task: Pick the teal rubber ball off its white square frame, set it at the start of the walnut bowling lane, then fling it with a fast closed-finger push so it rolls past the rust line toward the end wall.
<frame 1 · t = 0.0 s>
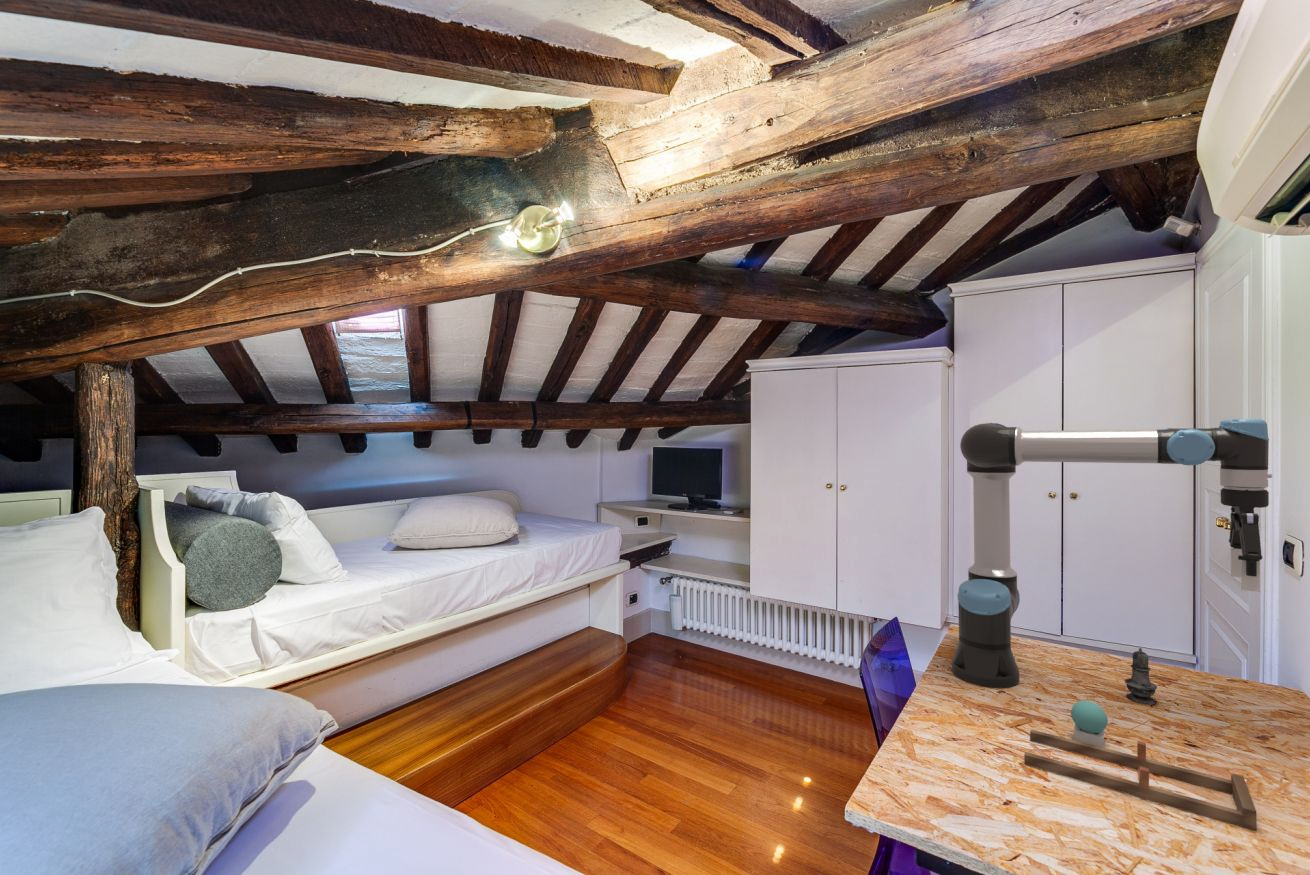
hand: (1244, 583, 129), 28 cm above the table, fingers open, 13 cm apart
dark grey chess piece: (1140, 699, 135), on the table
white square frame: (1089, 739, 119), on the table
lane: (1128, 778, 106), on the table
ball: (1089, 716, 119), point 5 cm above the table, touching white square frame
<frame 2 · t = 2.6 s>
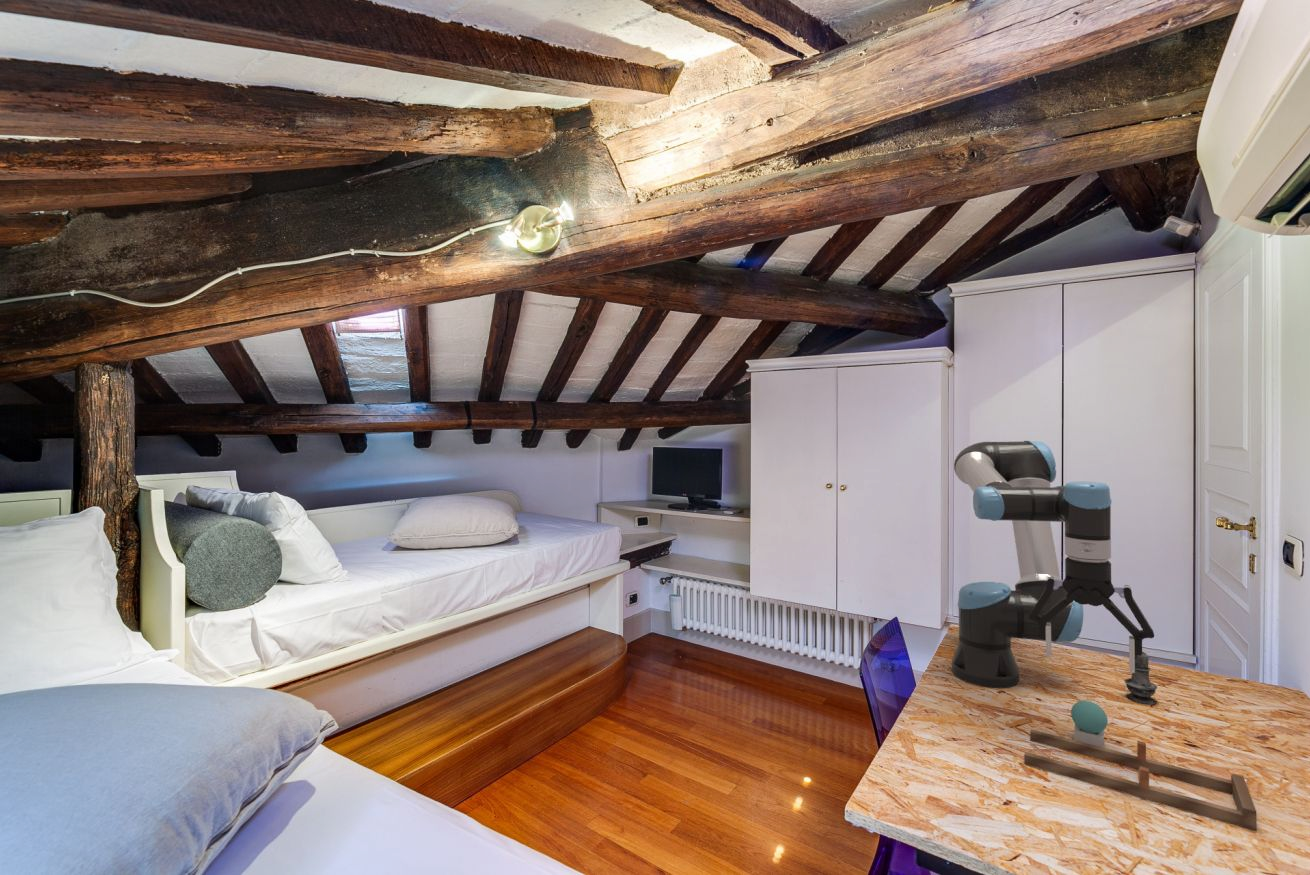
hand: (1088, 662, 118), 16 cm above the table, fingers open, 13 cm apart
nothing on the table moved.
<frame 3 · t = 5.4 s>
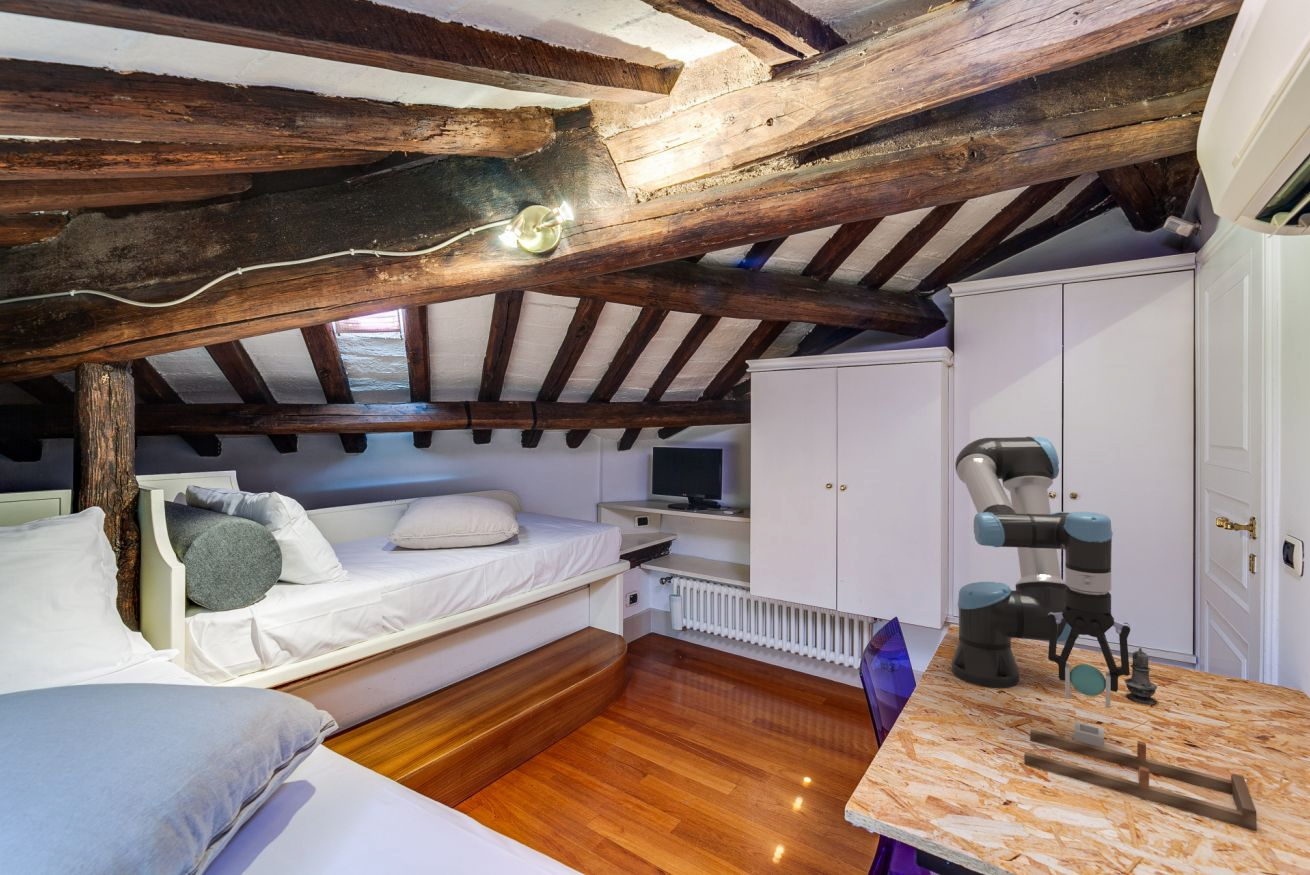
hand: (1087, 700, 119), 8 cm above the table, fingers closed on ball, 6 cm apart
ball: (1087, 679, 119), point 12 cm above the table, touching gripper
everything else where it was.
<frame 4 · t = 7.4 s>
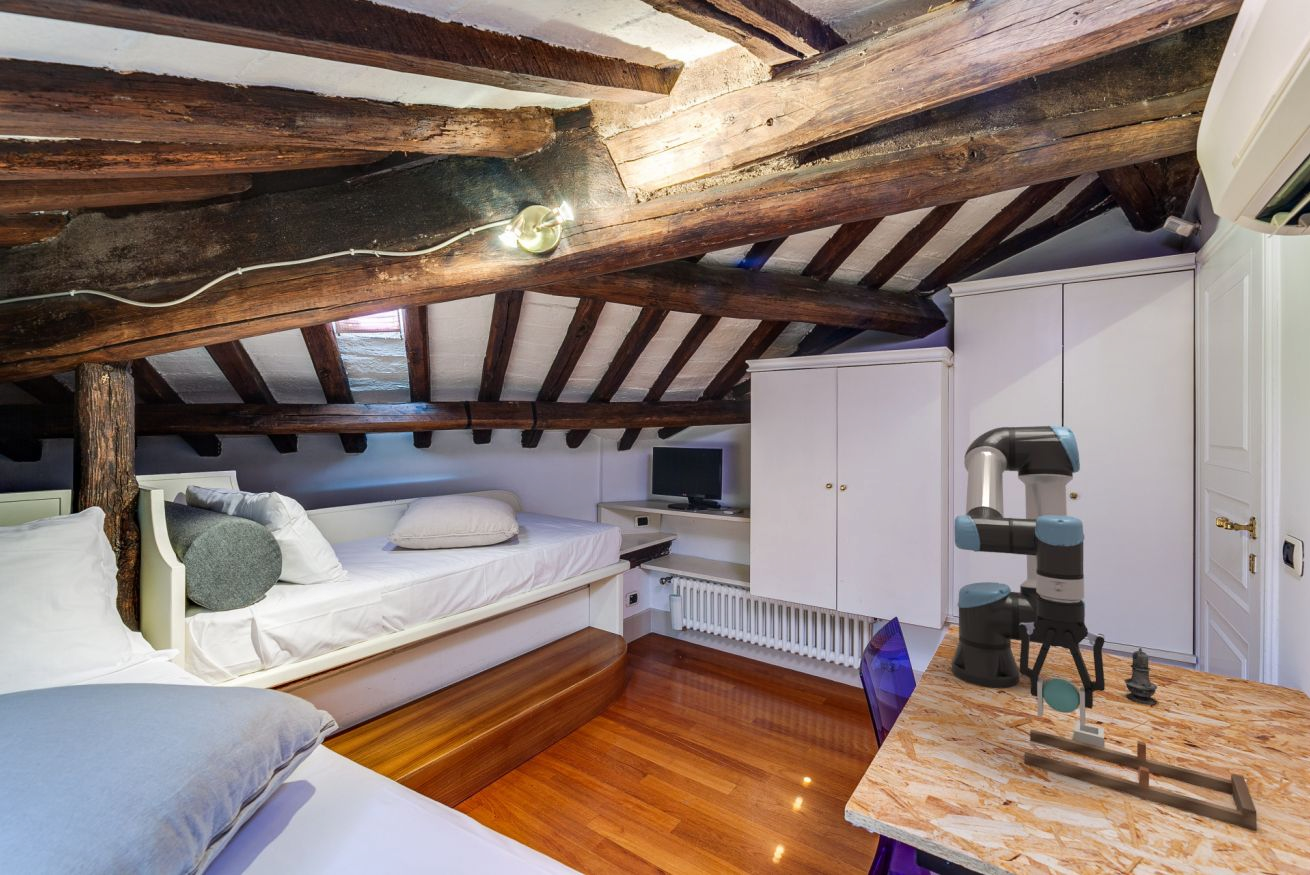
hand: (1061, 718, 111), 8 cm above the table, fingers closed on ball, 6 cm apart
ball: (1061, 695, 111), point 13 cm above the table, touching gripper
everything else where it was.
when the fingers open (0 cm above the table, at t = 9.5 s): ball drops 2 cm, point 3 cm above the table.
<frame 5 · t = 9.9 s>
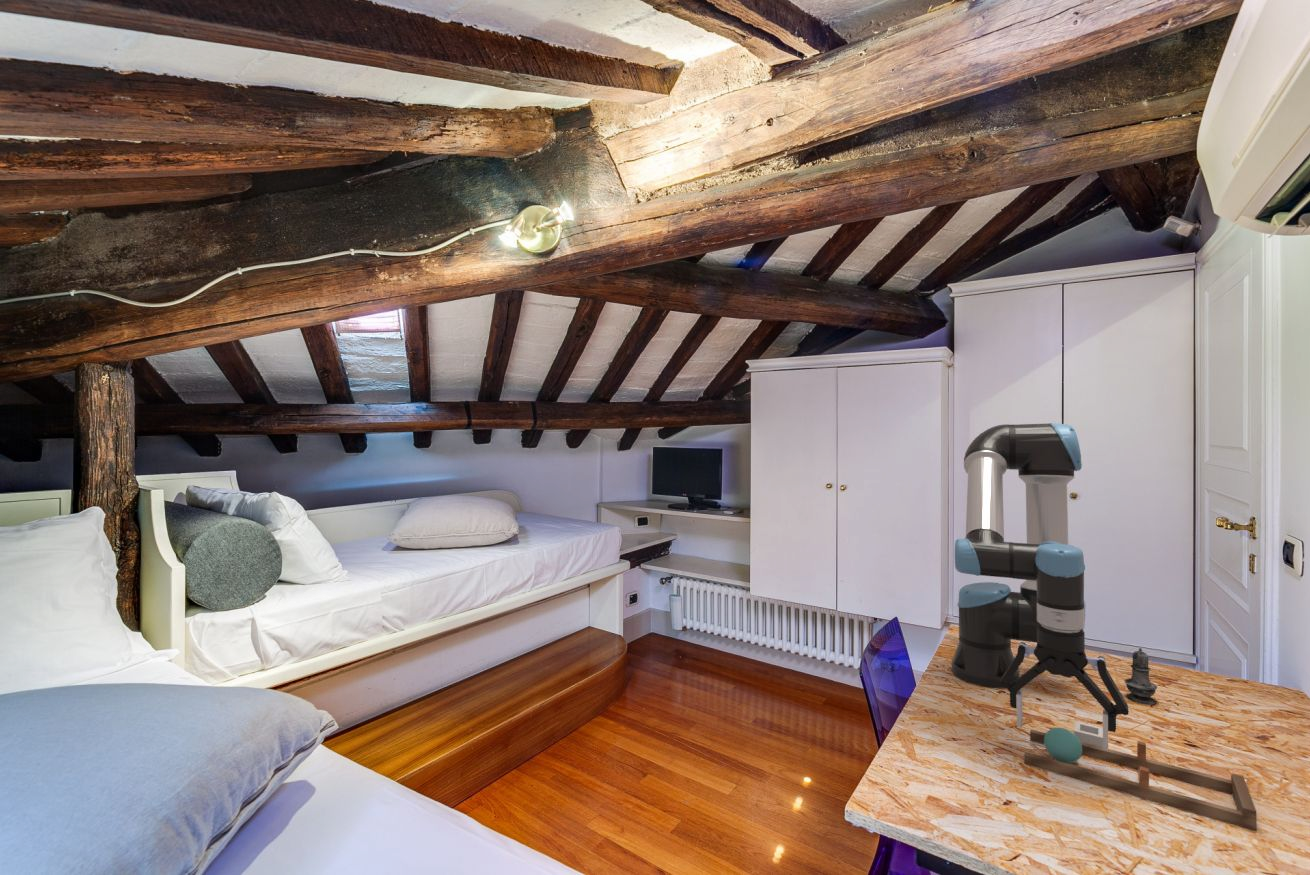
hand: (1061, 735, 112), 4 cm above the table, fingers open, 13 cm apart
ball: (1062, 745, 111), point 3 cm above the table
everything else where it was.
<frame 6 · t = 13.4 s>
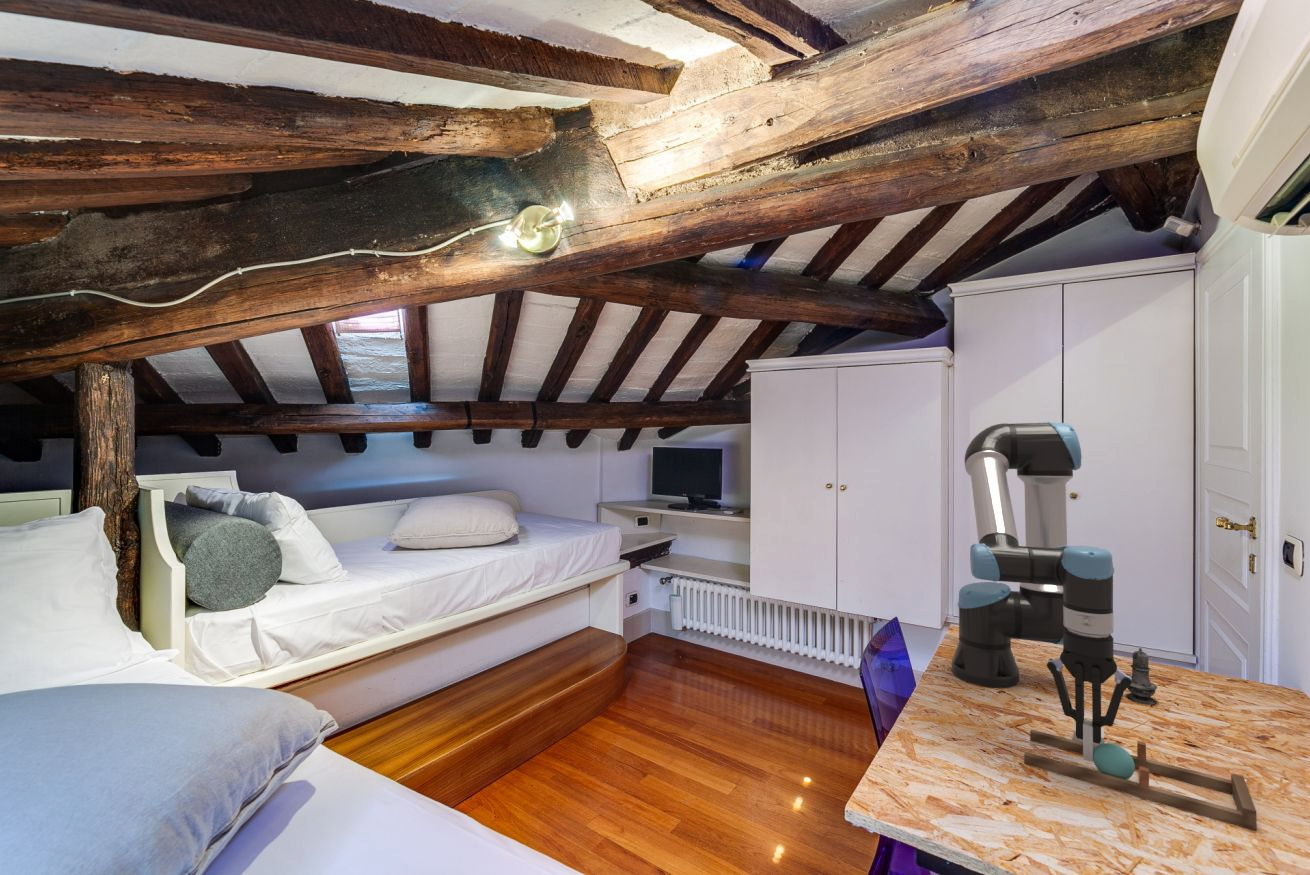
hand: (1088, 757, 109), 2 cm above the table, fingers closed
ball: (1113, 761, 106), point 3 cm above the table, tilted 111°, touching gripper
everything else where it was.
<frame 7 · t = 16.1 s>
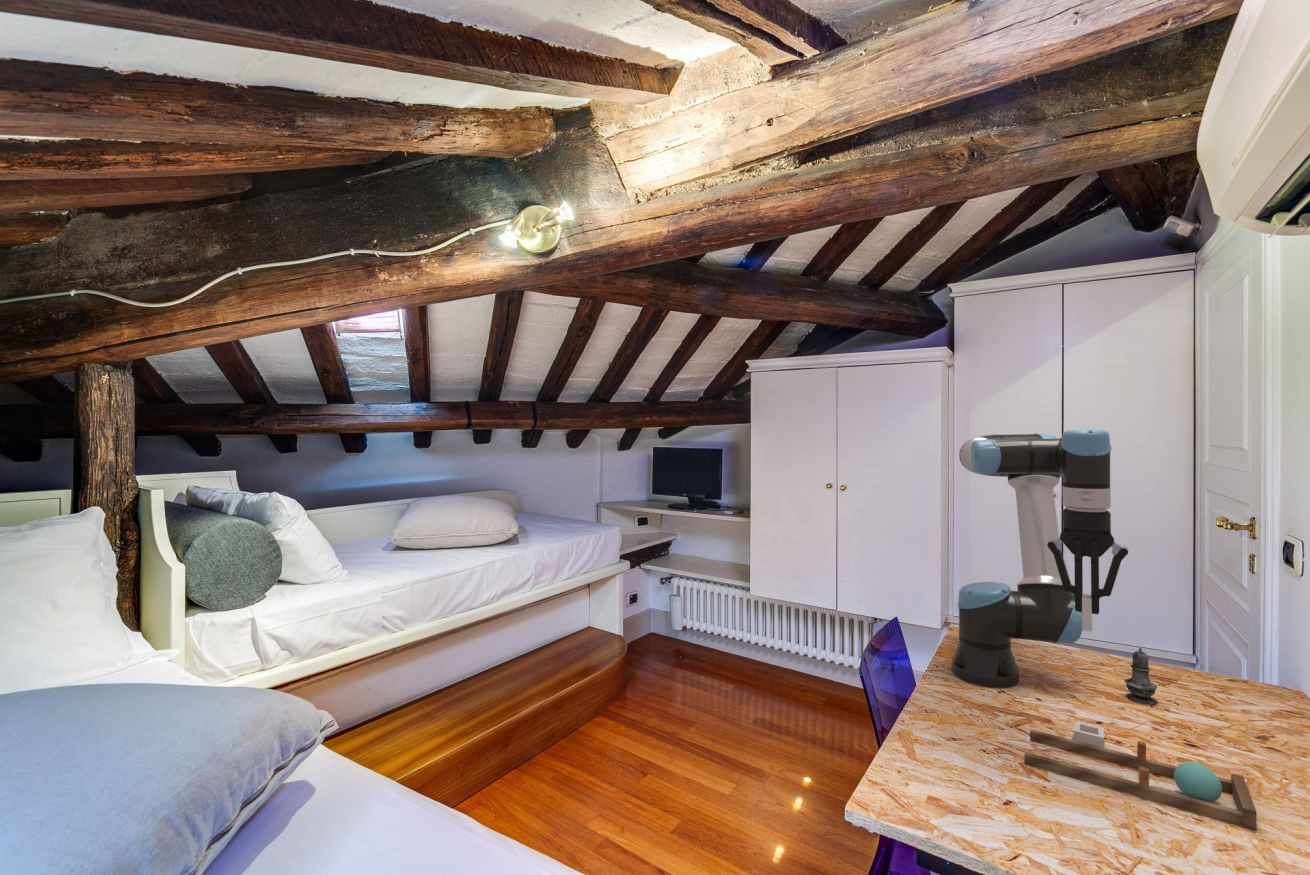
hand: (1087, 629, 114), 24 cm above the table, fingers closed
ball: (1197, 782, 99), point 3 cm above the table, tilted 38°
everything else where it was.
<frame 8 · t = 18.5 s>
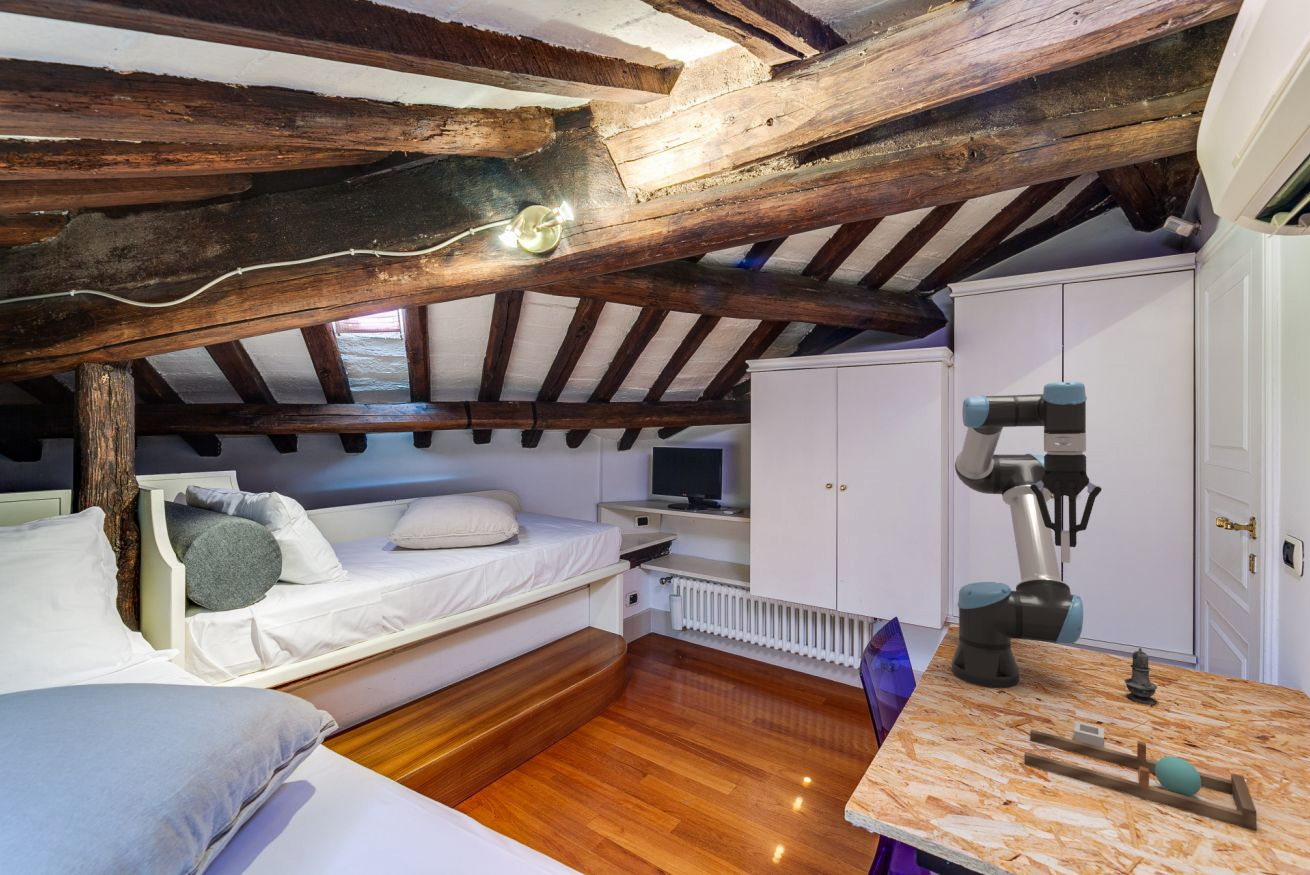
hand: (1065, 561, 127), 34 cm above the table, fingers closed
ball: (1177, 776, 101), point 3 cm above the table, tilted 81°
everything else where it was.
at the end: ball inside the target area (2.9 cm from its centre), point 3.0 cm above the table; the gripper is holding nothing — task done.
